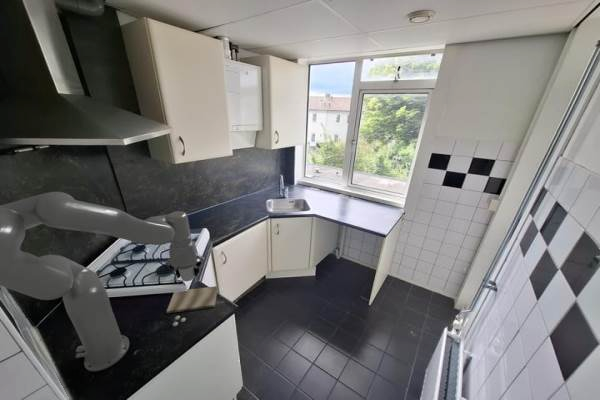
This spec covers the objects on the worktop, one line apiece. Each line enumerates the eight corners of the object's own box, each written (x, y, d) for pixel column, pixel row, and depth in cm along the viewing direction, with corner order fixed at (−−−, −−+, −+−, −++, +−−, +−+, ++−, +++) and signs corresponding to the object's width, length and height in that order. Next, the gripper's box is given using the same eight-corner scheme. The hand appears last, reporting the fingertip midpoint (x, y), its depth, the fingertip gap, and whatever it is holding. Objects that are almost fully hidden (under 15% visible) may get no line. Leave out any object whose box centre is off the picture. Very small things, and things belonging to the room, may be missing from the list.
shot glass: (192, 269, 103) (190, 257, 100) (199, 276, 99) (197, 263, 96) (177, 277, 98) (174, 264, 96) (184, 284, 94) (181, 271, 91)
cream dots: (171, 326, 92) (171, 326, 92) (175, 316, 96) (175, 316, 96) (184, 324, 93) (184, 324, 93) (187, 314, 98) (187, 314, 97)
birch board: (167, 313, 98) (166, 311, 97) (174, 293, 109) (174, 291, 108) (214, 306, 102) (214, 304, 102) (217, 287, 113) (217, 286, 113)
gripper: (154, 247, 86) (163, 283, 93) (201, 243, 90) (207, 278, 97) (161, 237, 93) (169, 271, 100) (205, 234, 97) (210, 267, 103)
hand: (188, 274), depth 98 cm, fingers closed on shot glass, 6 cm apart
